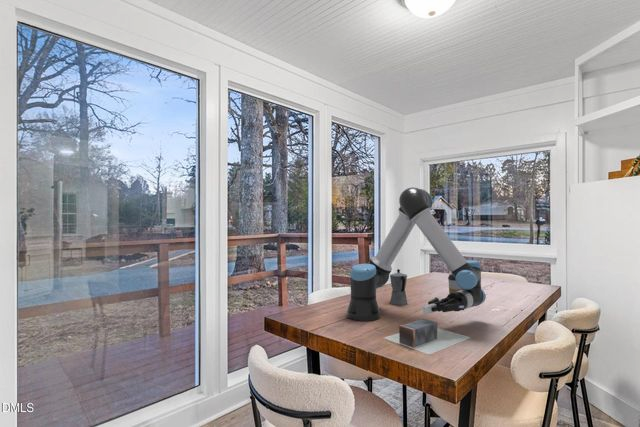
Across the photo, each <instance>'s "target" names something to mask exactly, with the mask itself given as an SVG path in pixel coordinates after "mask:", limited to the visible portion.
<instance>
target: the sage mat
mask: <svg viewBox="0 0 640 427" xmlns="http://www.w3.org/2000/svg"><path fill="white" fill-rule="evenodd" d="M471 338H472V336H471V337H470V336H467V335H463V334H460V333H456V332H453V331H450V330H447V329H442V328H439V327H437V339H435V340H433V341H430V342H427V343H424V344H422V345H419V346H416V347H414V348H413V347H410V346H407V345H405V344H402V343H399V332H397V333H394V334H391V335H388V336H387V335H386V336H385V337H383V339H384V340H388V341H390V342H393V343H396V344H399V345H401V346H404V347H407V348H410V349H412V350H415V351H418V352H421V353H423V354H427V355H432V354H434V353H436V352H440V351H442V350H445V349H446V348H449V347H452V346H454V345H457V344H459V343H461V342H465V341H467V340H468V339H471Z"/></svg>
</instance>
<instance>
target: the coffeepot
mask: <svg viewBox="0 0 640 427" xmlns="http://www.w3.org/2000/svg"><path fill="white" fill-rule="evenodd" d="M400 271H401V269H397V270H396V272H395V273H390V274H389V279H390V284H391V288H392V290H391V296H390V304H391V305H393V306H406V305H408V300H407V298H408V297H407V293H406V285H407V279H408V274H405V273H402V272H400Z"/></svg>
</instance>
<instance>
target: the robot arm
mask: <svg viewBox="0 0 640 427" xmlns="http://www.w3.org/2000/svg"><path fill="white" fill-rule="evenodd" d="M398 200H399V201H398V202H399V207H398V216H397V218H396V220H395V222H394V223H393V225H392V226H391V228H390V230H389V232H388V234H387V235H386V237H385V239H384V241H383V242H382V245H381V246H380V248H379V250H378V251H377V252H376V255H374V256H371V257H370V259H369V261H368V262H367V263H360V264H355V265H353V266H352V267H351V268H350V273H349V274H350V275H349V276H350V299H349V300H350V301H349V304H348V307H347V311H346V317H347V318H349V319H350V320H354V321H358V322H359V321H360V322H363V321H364V322H371V321H375V320H379V319H380V318H381V311H380V308H379V305H378V302H377V301H378V300H377V289H379V288H381V287H384V286H385V285H386V284H387V283H388V281H389V279H390V274H391V272H392V270H393V267H392V265H393V263H394V261H395V259H396V257H397V256H398V254H399V252H400V251H401V249H402V247H403V246H404V244H405V243H406V241H407V239H408V237H409V236H410V233H411V232H412V231H413V228H414V227H415V226H417V227H418V228H419V231H421V233H422V234H423V235H424V237H425V238H426V240H427V241H428V242H429V244H430V245H431V246H432V248H433V249H434V251H435V252H436V253H437V255H438V256H439V257H440V259H441V260H442V262H443V263H444V265H445V266H446V267H447V269H448V270H449V271H450V274H453V276H454V277H455V280H456V283H457V285H458V286H459V287H460V288H462V290H460V291H457V292H453V293H450V294H449V293H448V294H447V296H445V297H443V298H441V299H440V298H438V297H434V298H433V299H431V300H430V301H428V302H427V304H425V305H422V314H423V315H429V314H432V313H435V312H442V313H448V312H460V311H465V310H467V309H471V308H473V307H478V306H480V305H483V304H484V303H485V301H486V299H487V296H486V295H487V294H486V293H485V291H484V290H483V289H482V268H481V267H482V266H481V265H482V264H481V262H480V261H479V260H466V258H465V257H464V256H463V254H462V253H461V252H460V250H459V249H458V248H457V247H456V244H454V242H453V241H452V240H451V238H450V237H449V236H448V234H447V232H445V230H444V229H443V228H442V226H441V225H440V224H439V221H437V219H436V218H435V217H434V215H433V214H432V213H431V209H432V207H433V197H432V196H431V194H430V193H428V191H426V190H424V189H422V188H419V187H413V186H412V187H407V188H406V189H404V190H403V191H402V192H401V194H400V196H399V198H398Z"/></svg>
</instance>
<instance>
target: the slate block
mask: <svg viewBox="0 0 640 427" xmlns="http://www.w3.org/2000/svg"><path fill="white" fill-rule="evenodd" d="M398 327H399V328H398V329H399V332H398V333H399V343H402V344H405V345H407V346H410V347H413V348H414V347H416V346H419V345H422V344H424V343H427V342H430V341H433V340H435V339H437V328H438V322H437V321H433V320H429V319H427V318H426V319H425V318H421V319H417V320H414V321H411V322H407V323H404V324H400V325H399V326H398ZM407 346H406V347H407Z"/></svg>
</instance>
